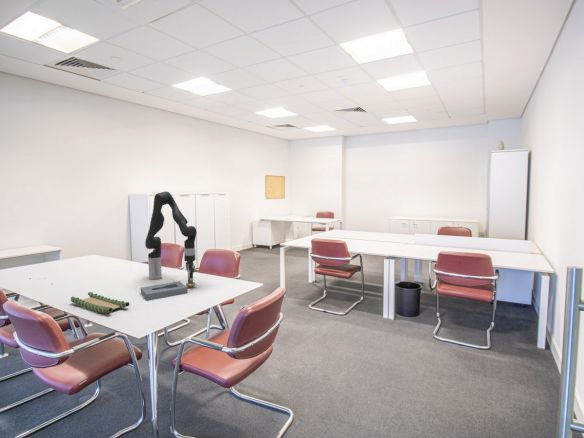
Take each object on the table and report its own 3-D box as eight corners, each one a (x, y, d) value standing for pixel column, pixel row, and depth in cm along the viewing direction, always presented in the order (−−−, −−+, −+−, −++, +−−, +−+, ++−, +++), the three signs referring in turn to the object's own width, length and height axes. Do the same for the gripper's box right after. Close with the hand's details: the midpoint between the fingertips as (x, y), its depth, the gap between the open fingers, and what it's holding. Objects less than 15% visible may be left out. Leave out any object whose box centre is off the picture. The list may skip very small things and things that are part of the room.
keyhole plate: (140, 293, 223) (140, 287, 222) (179, 286, 238) (179, 281, 237) (146, 300, 208) (146, 294, 208) (187, 293, 223) (187, 287, 223)
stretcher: (131, 309, 194) (131, 301, 193) (107, 317, 181) (106, 309, 181) (92, 297, 214) (92, 290, 214) (68, 304, 202) (68, 297, 201)
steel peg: (184, 284, 236) (184, 268, 235) (193, 283, 240) (193, 267, 239) (187, 287, 231) (187, 270, 230) (196, 285, 235) (196, 269, 234)
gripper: (181, 253, 237) (182, 276, 239) (187, 256, 225) (188, 280, 227) (191, 251, 241) (192, 274, 243) (198, 255, 230) (199, 279, 231)
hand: (190, 277), depth 235 cm, fingers closed on steel peg, 3 cm apart
